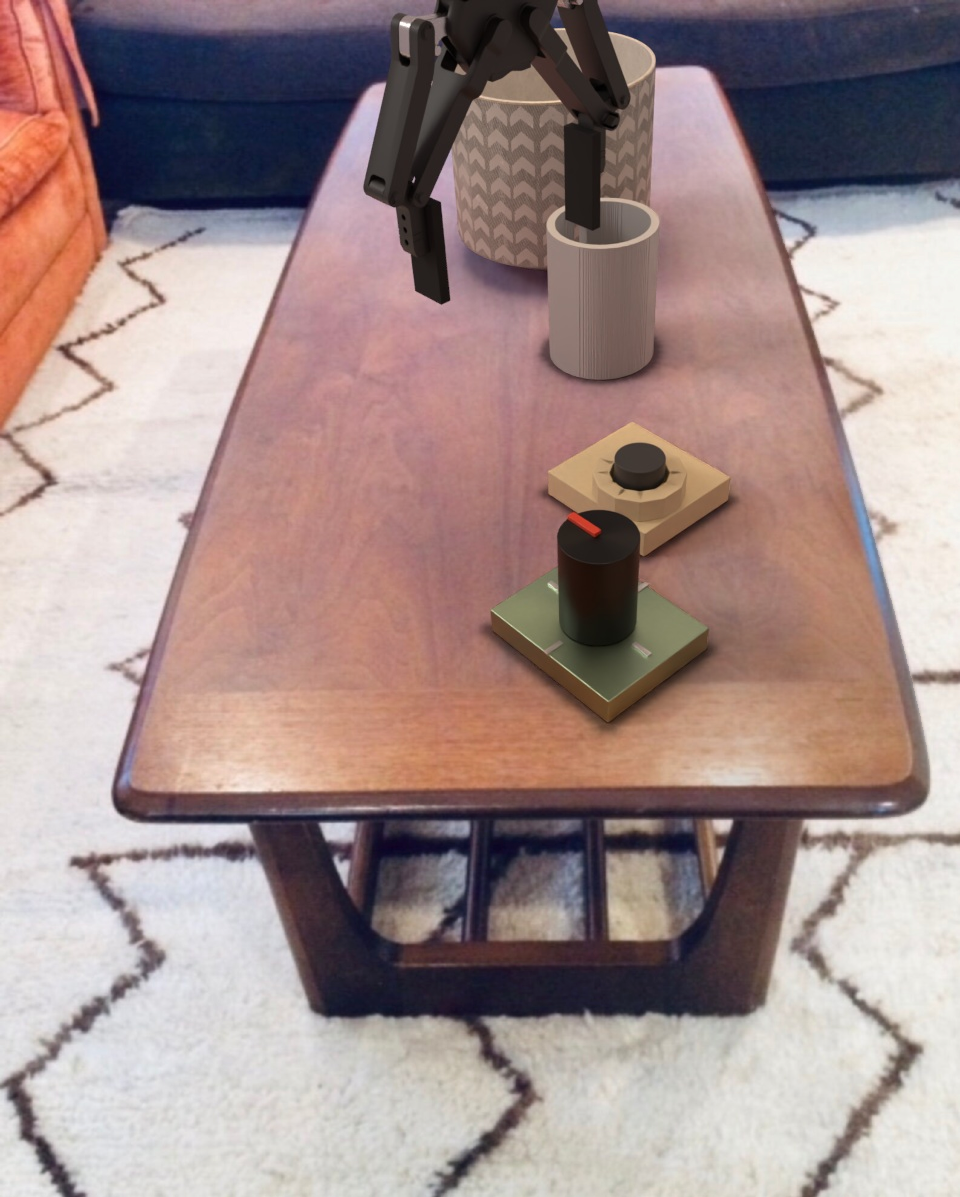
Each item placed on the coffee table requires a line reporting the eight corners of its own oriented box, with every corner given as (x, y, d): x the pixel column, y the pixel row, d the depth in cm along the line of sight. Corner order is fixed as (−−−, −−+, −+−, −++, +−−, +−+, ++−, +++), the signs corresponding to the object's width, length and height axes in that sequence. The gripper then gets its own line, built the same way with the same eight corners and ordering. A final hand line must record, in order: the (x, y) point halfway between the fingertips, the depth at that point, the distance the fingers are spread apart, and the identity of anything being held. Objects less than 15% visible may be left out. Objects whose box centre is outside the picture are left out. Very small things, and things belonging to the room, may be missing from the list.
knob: (653, 618, 70) (658, 532, 65) (597, 658, 68) (598, 572, 63) (598, 580, 73) (599, 494, 68) (543, 616, 71) (539, 531, 66)
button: (675, 476, 78) (676, 457, 77) (639, 499, 77) (640, 479, 75) (638, 455, 80) (639, 435, 79) (603, 476, 79) (603, 457, 78)
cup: (621, 390, 93) (624, 258, 84) (530, 362, 97) (525, 233, 88) (671, 340, 98) (679, 210, 90) (583, 315, 102) (583, 189, 94)
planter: (469, 307, 104) (453, 112, 92) (453, 219, 118) (437, 39, 106) (666, 285, 105) (677, 88, 92) (628, 200, 119) (633, 19, 106)
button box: (728, 500, 82) (733, 457, 79) (641, 558, 78) (643, 515, 75) (631, 444, 87) (632, 401, 85) (545, 495, 83) (544, 453, 81)
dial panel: (708, 648, 71) (710, 625, 70) (606, 724, 67) (607, 701, 66) (589, 566, 77) (589, 543, 76) (490, 631, 73) (488, 608, 72)
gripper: (603, -161, 67) (601, 182, 81) (258, -68, 56) (327, 309, 70) (698, -149, 62) (677, 211, 77) (345, -45, 51) (399, 351, 66)
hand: (510, 258), depth 74 cm, fingers open, 13 cm apart
